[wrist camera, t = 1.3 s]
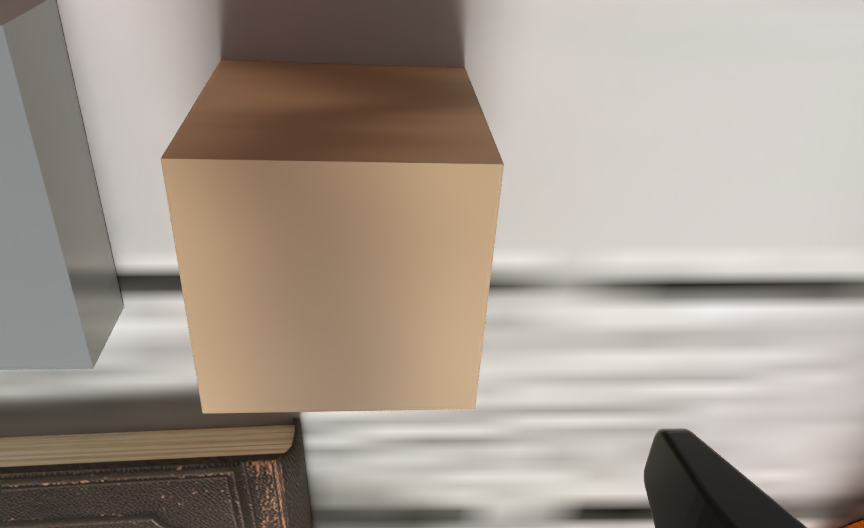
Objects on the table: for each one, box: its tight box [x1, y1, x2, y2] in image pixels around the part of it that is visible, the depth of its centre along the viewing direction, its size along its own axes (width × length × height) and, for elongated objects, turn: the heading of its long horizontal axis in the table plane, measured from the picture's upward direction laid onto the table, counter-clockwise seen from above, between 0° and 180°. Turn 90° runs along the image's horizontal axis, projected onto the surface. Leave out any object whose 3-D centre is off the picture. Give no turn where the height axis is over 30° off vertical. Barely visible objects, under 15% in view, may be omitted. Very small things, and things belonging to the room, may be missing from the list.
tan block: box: [161, 60, 504, 414], centre depth 15 cm, size 6×6×6 cm
